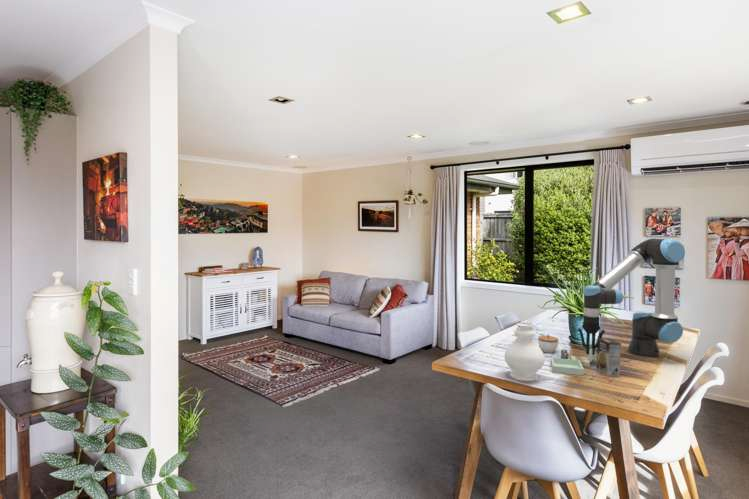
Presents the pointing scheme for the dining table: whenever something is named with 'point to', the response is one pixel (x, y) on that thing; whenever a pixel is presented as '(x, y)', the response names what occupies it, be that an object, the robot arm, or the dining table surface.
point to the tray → (567, 366)
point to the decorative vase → (524, 354)
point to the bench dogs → (564, 354)
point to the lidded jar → (548, 343)
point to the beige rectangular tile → (581, 360)
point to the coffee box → (608, 357)
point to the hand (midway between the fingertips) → (590, 360)
